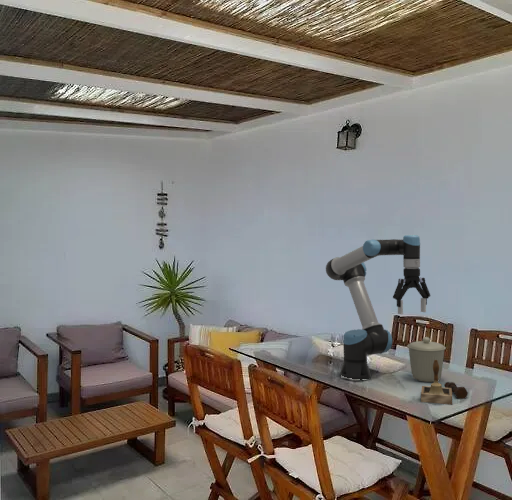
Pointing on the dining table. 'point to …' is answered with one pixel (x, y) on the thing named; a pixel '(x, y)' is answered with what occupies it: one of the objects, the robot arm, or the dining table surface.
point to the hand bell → (436, 381)
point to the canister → (425, 359)
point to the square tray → (436, 396)
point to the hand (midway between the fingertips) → (411, 313)
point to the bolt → (457, 390)
